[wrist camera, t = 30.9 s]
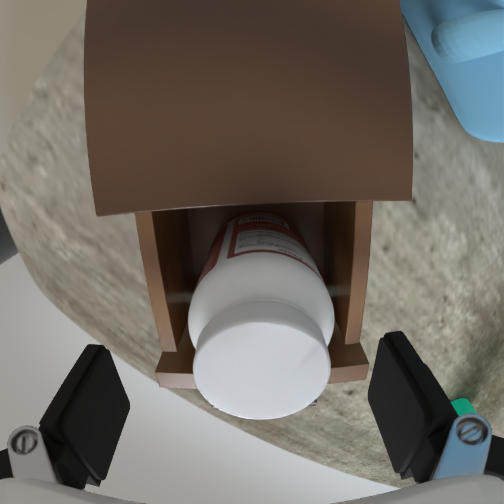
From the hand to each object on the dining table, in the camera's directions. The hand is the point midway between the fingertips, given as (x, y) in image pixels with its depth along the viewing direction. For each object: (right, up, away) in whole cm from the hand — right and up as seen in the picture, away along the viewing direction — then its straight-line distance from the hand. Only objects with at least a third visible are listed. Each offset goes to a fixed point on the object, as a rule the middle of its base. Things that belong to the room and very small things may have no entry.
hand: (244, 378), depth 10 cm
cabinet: (0, +16, +8) cm, 18 cm away
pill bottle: (+1, +4, +11) cm, 11 cm away
